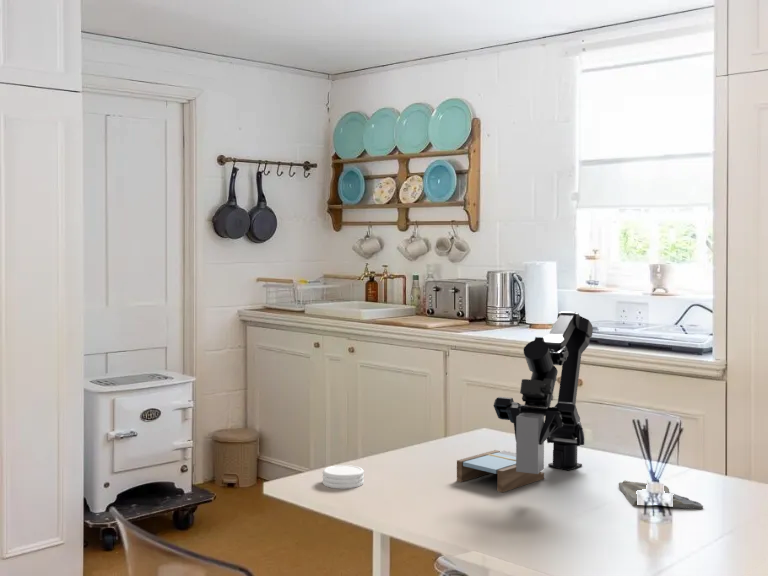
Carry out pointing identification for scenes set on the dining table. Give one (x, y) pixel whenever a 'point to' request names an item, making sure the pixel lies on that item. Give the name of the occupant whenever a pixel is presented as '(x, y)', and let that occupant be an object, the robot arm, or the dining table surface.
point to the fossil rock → (678, 501)
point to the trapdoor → (492, 462)
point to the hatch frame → (498, 474)
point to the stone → (529, 443)
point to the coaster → (343, 476)
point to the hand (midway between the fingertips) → (528, 442)
